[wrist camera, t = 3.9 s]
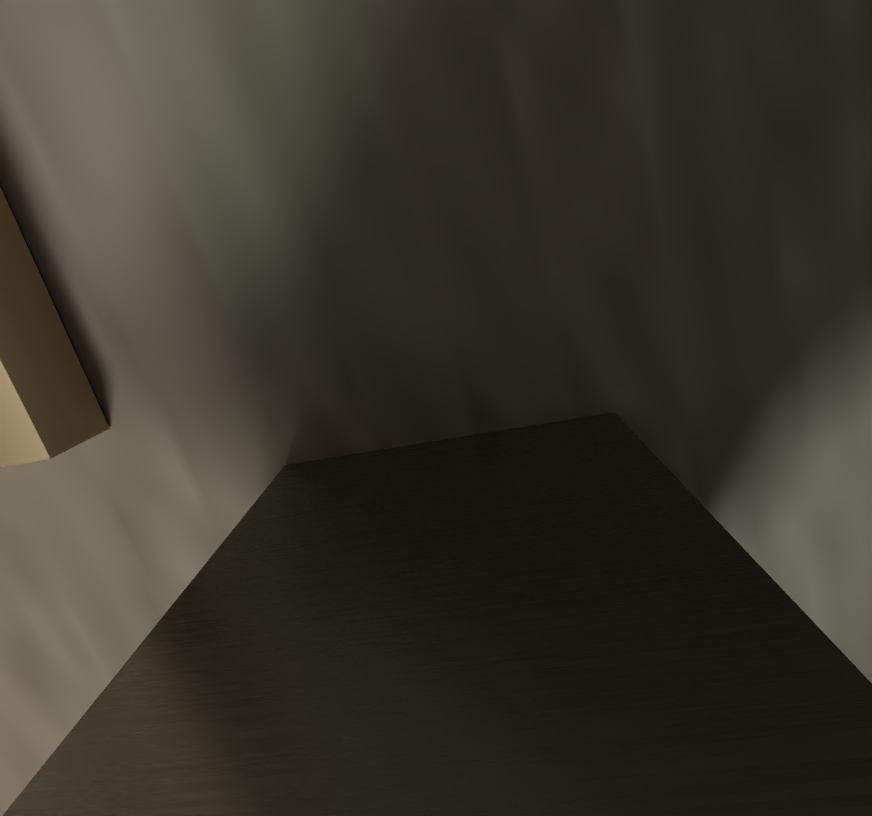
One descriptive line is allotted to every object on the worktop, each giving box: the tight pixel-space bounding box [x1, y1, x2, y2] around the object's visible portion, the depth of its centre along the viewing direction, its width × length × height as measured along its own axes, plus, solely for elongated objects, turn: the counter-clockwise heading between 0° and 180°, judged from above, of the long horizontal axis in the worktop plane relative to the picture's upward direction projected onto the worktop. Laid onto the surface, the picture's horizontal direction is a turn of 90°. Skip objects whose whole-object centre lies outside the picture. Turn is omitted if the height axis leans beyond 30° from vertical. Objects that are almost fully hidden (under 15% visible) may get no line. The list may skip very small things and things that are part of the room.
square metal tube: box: [3, 413, 872, 816], centre depth 7 cm, size 7×7×7 cm
